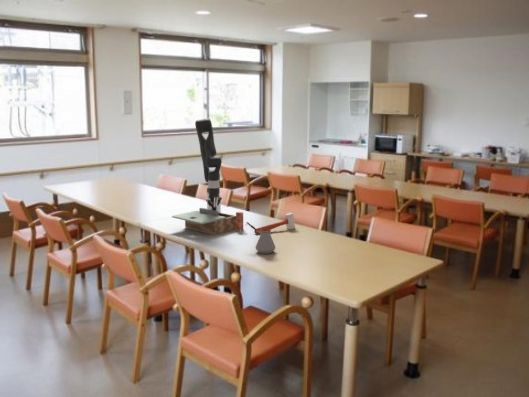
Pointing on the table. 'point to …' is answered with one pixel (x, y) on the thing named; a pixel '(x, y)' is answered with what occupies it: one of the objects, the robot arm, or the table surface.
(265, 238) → the coffee pot
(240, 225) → the pin
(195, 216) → the toolbox lid
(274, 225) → the mallet
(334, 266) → the table surface
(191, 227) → the toolbox
